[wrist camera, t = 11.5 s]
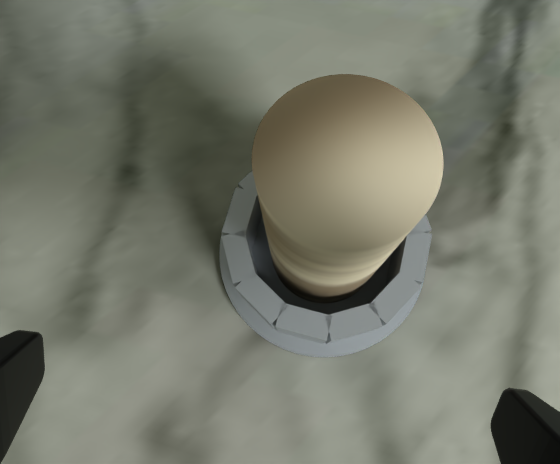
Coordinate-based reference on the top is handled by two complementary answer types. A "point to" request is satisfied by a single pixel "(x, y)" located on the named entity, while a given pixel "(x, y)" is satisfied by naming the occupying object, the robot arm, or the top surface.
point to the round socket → (309, 315)
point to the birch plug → (342, 181)
